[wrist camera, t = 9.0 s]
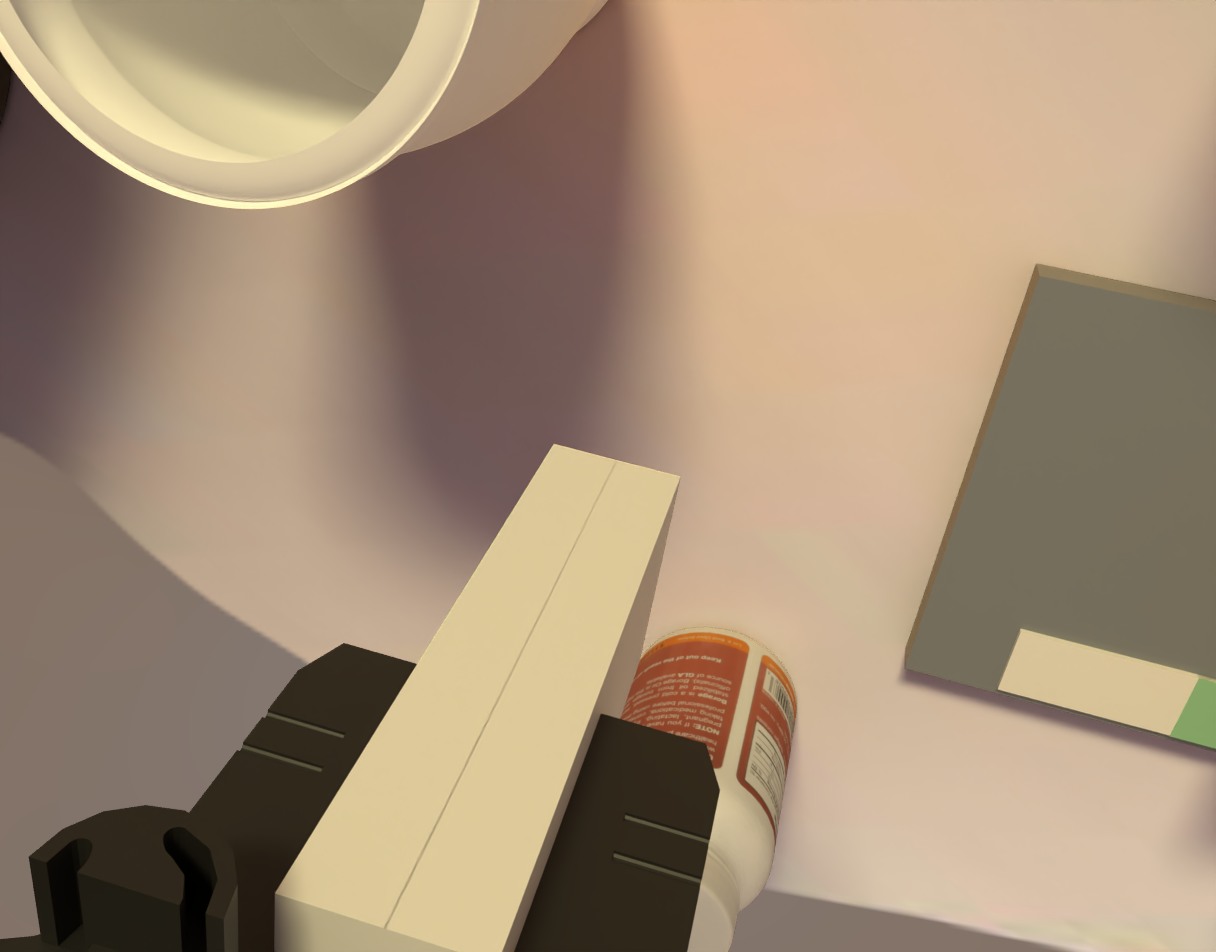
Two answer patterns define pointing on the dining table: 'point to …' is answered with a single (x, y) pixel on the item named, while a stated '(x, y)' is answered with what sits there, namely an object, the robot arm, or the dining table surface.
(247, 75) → the jar
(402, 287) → the dining table surface
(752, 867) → the pill bottle
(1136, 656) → the board
